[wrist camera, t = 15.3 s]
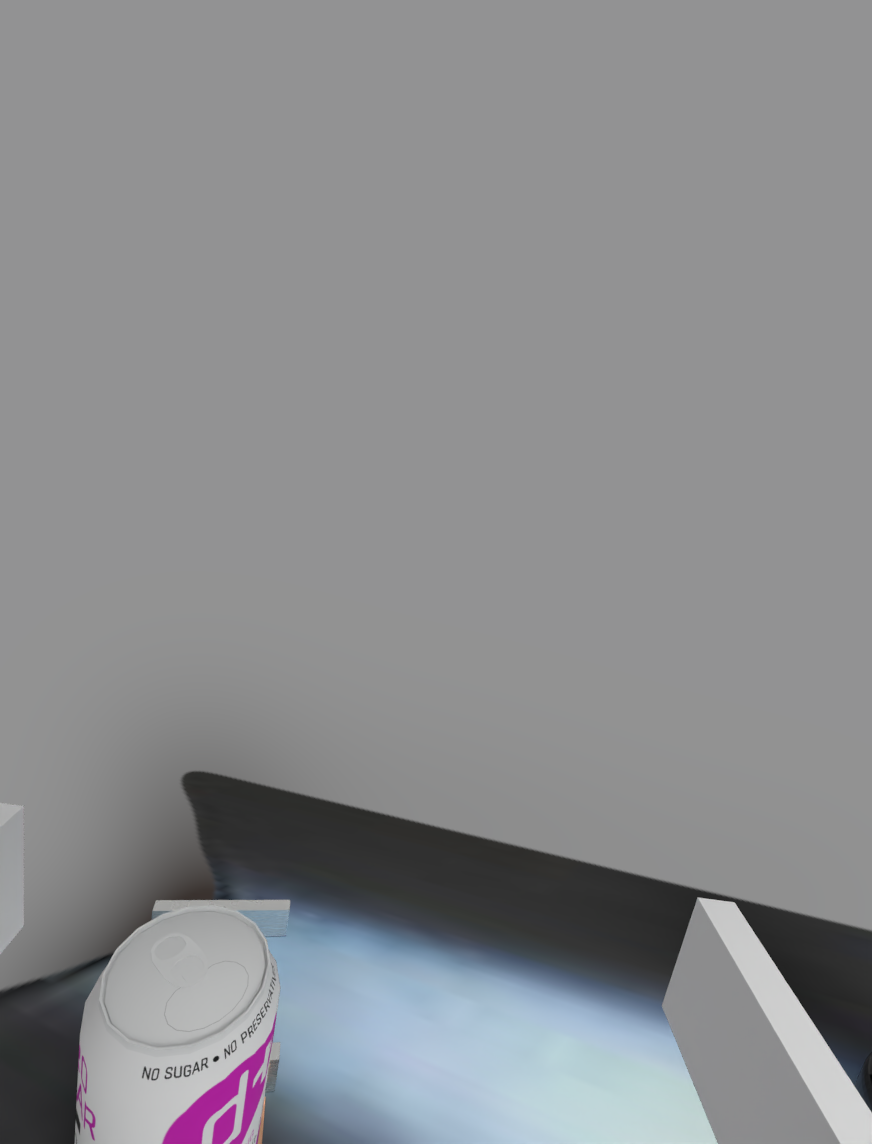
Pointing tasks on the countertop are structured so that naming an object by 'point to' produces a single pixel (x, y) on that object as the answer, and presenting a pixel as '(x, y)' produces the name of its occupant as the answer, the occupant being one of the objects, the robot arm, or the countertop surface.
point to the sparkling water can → (179, 1034)
